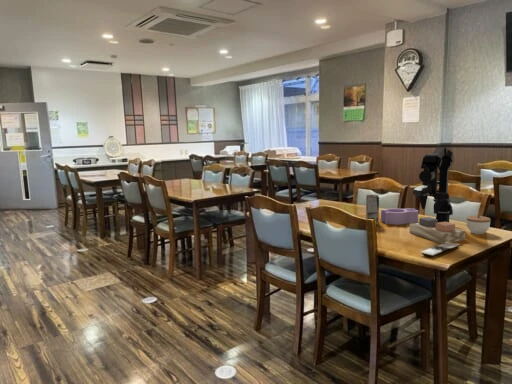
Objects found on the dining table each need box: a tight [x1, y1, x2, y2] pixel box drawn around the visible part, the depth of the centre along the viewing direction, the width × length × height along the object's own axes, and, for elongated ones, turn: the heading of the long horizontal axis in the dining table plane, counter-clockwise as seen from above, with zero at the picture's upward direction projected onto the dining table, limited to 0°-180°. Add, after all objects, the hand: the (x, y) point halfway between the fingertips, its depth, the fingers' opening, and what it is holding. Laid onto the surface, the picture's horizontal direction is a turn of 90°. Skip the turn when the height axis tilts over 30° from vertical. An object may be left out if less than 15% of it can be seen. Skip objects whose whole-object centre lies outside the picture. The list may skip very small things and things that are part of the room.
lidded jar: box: [465, 214, 492, 235], centre depth 197 cm, size 11×11×9 cm
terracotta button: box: [436, 221, 456, 232], centre depth 188 cm, size 6×6×4 cm
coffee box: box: [365, 194, 380, 226], centre depth 223 cm, size 9×6×16 cm
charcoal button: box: [418, 216, 438, 227], centre depth 199 cm, size 6×6×4 cm
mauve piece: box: [380, 207, 419, 225], centre depth 225 cm, size 20×12×7 cm, turn 93°
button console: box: [408, 222, 466, 244], centre depth 194 cm, size 14×22×4 cm, turn 19°
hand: (429, 210), depth 193 cm, fingers open, 9 cm apart
